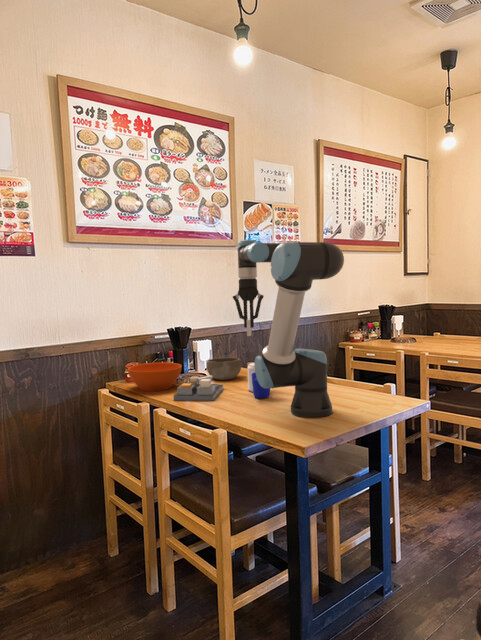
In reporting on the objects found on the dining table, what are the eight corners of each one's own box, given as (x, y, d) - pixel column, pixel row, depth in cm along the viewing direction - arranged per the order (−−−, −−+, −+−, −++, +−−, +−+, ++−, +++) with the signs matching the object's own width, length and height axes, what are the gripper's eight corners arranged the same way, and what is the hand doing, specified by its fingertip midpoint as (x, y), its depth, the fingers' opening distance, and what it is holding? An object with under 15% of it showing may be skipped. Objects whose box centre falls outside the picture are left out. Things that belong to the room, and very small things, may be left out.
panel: (213, 400, 189) (213, 388, 189) (173, 400, 192) (173, 388, 192) (223, 388, 211) (223, 378, 211) (187, 388, 214) (187, 378, 213)
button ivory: (209, 389, 192) (209, 380, 192) (200, 389, 193) (200, 380, 192) (211, 387, 196) (211, 379, 196) (202, 387, 196) (202, 379, 196)
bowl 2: (210, 375, 245) (210, 356, 244) (243, 375, 243) (243, 356, 242) (203, 382, 228) (203, 362, 227) (239, 382, 226) (238, 361, 225)
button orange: (189, 393, 193) (189, 385, 193) (181, 393, 194) (180, 385, 194) (192, 391, 197) (191, 383, 197) (183, 391, 198) (183, 383, 198)
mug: (246, 401, 187) (245, 377, 187) (255, 394, 199) (255, 371, 198) (265, 402, 184) (265, 378, 184) (273, 395, 196) (273, 372, 195)
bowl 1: (150, 380, 235) (149, 361, 234) (192, 384, 224) (191, 363, 223) (117, 391, 212) (116, 370, 212) (162, 395, 201) (161, 373, 201)
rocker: (211, 378, 207) (210, 376, 207) (194, 382, 208) (194, 379, 208) (212, 377, 210) (212, 375, 210) (196, 380, 211) (195, 378, 211)
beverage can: (244, 391, 206) (243, 364, 205) (256, 387, 211) (255, 362, 211) (258, 393, 200) (257, 366, 199) (269, 390, 206) (269, 363, 205)
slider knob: (197, 389, 201) (196, 378, 201) (190, 389, 202) (190, 378, 201) (199, 387, 205) (198, 376, 204) (192, 387, 205) (192, 376, 205)
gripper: (264, 278, 191) (265, 334, 193) (233, 279, 193) (235, 334, 195) (262, 277, 184) (264, 336, 186) (230, 278, 186) (232, 336, 187)
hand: (249, 335), depth 190 cm, fingers closed
